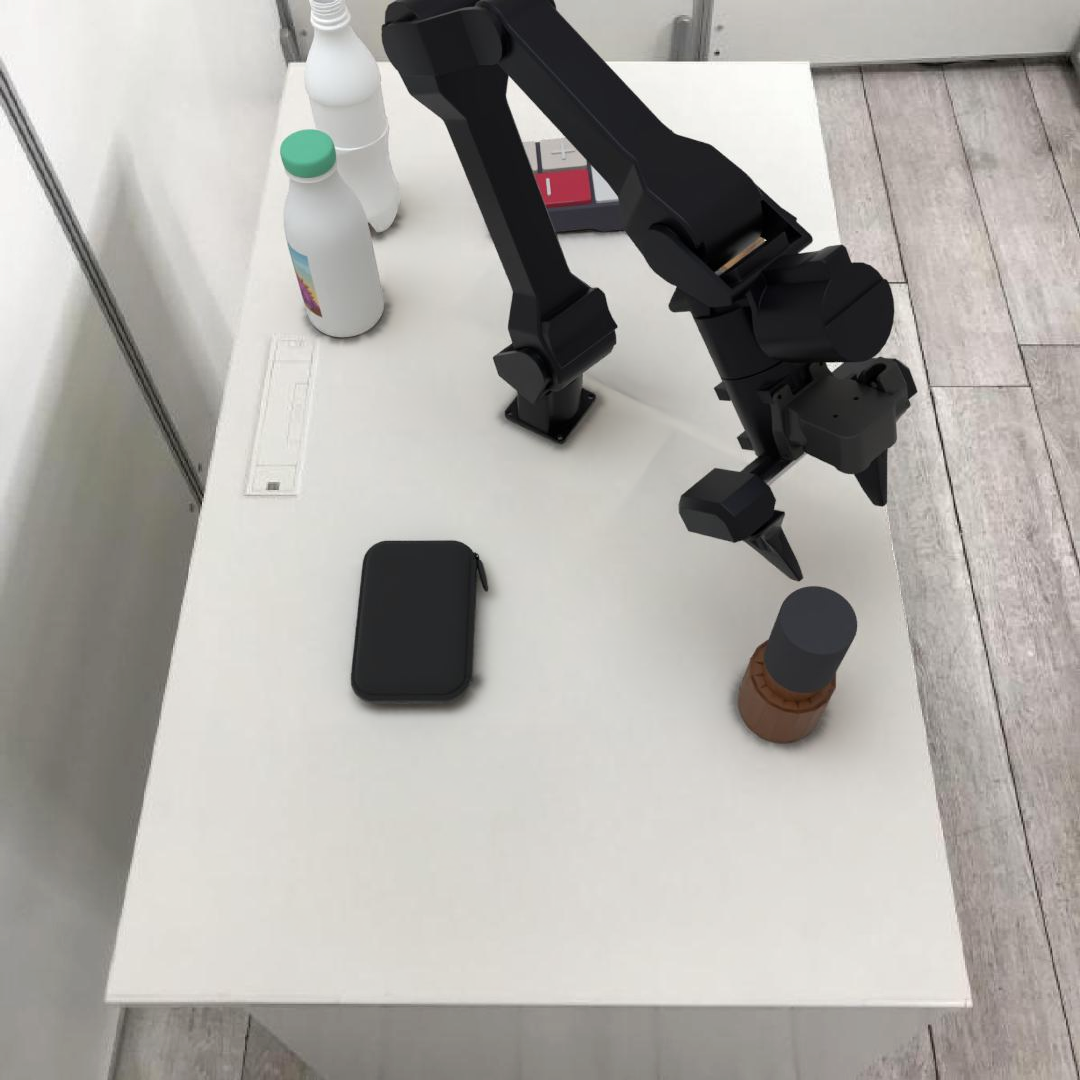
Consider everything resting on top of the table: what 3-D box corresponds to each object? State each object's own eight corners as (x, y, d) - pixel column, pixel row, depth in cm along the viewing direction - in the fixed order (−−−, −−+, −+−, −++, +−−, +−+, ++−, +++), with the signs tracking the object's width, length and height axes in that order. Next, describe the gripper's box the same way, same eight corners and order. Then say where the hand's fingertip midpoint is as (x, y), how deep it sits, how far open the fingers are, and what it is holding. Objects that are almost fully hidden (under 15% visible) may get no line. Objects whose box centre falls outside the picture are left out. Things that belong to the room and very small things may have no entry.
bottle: (798, 758, 82) (821, 716, 75) (723, 717, 84) (739, 672, 77) (832, 692, 85) (857, 646, 78) (759, 654, 87) (777, 605, 80)
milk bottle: (391, 285, 109) (359, 117, 92) (377, 342, 105) (342, 178, 88) (317, 280, 109) (271, 112, 92) (301, 337, 105) (250, 173, 88)
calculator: (486, 140, 115) (625, 126, 114) (490, 172, 118) (625, 159, 118) (490, 211, 109) (637, 196, 109) (494, 242, 113) (636, 229, 112)
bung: (745, 666, 79) (763, 617, 72) (792, 624, 80) (813, 571, 74) (799, 715, 77) (823, 669, 70) (846, 670, 78) (873, 621, 71)
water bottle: (393, 245, 112) (353, 23, 90) (327, 236, 113) (273, 14, 91) (411, 199, 115) (377, -26, 94) (347, 191, 116) (299, -34, 95)
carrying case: (485, 709, 85) (490, 550, 92) (483, 694, 82) (488, 531, 90) (351, 710, 85) (367, 551, 92) (344, 695, 82) (362, 532, 90)
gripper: (740, 445, 62) (834, 648, 68) (943, 279, 67) (1013, 480, 74) (633, 431, 71) (724, 610, 77) (819, 287, 77) (890, 464, 83)
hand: (839, 541), depth 78 cm, fingers open, 9 cm apart
